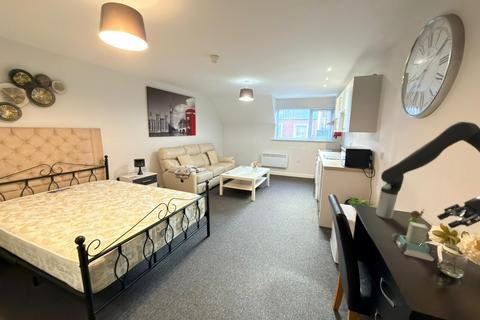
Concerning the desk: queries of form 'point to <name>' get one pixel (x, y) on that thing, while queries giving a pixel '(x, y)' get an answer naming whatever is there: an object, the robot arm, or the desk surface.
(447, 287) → the desk surface
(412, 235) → the skincare box
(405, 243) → the toy car chassis
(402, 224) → the desk surface
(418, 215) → the snail figurine
